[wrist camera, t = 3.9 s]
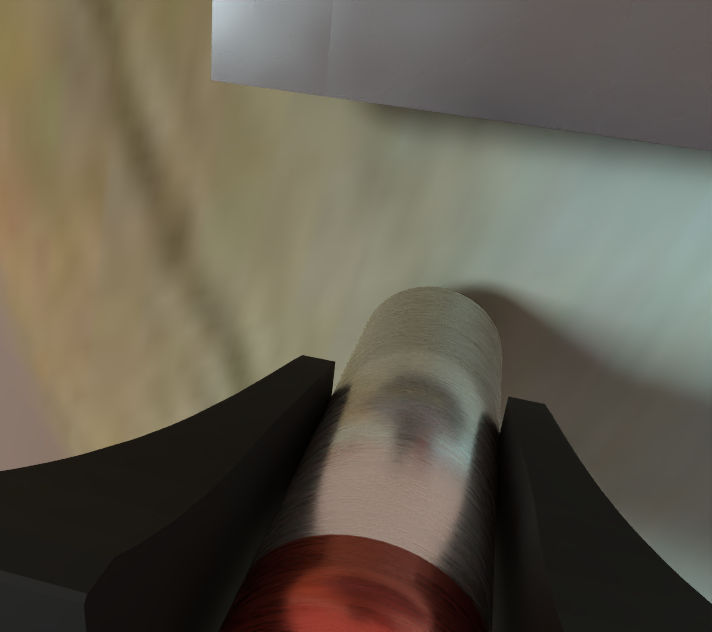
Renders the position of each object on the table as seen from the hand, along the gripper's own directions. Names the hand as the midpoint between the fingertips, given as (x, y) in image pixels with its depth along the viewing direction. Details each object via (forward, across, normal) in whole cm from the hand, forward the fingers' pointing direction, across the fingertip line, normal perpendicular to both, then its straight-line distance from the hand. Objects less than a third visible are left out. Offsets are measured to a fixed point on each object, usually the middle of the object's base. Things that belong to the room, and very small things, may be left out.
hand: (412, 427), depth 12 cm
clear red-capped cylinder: (+3, 0, 0) cm, 3 cm away
